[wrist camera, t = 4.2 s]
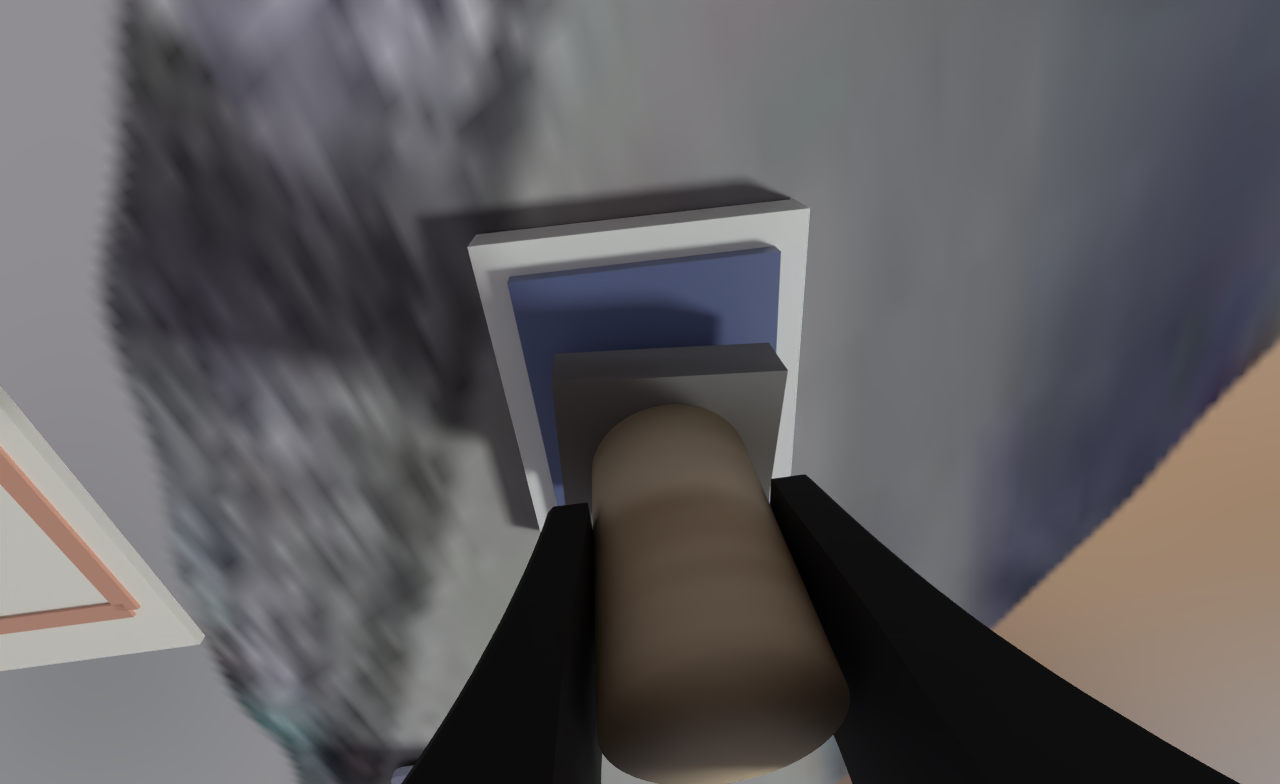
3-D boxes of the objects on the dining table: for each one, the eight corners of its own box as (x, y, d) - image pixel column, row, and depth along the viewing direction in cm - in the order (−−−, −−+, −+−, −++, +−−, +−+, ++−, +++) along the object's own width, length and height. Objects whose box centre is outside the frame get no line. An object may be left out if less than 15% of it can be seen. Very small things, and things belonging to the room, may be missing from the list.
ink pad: (776, 503, 16) (791, 537, 15) (549, 533, 16) (546, 569, 15) (793, 199, 12) (817, 212, 10) (476, 234, 11) (463, 252, 10)
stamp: (748, 501, 13) (857, 787, 8) (571, 514, 13) (563, 820, 8) (768, 342, 11) (941, 594, 6) (554, 353, 11) (525, 631, 5)
